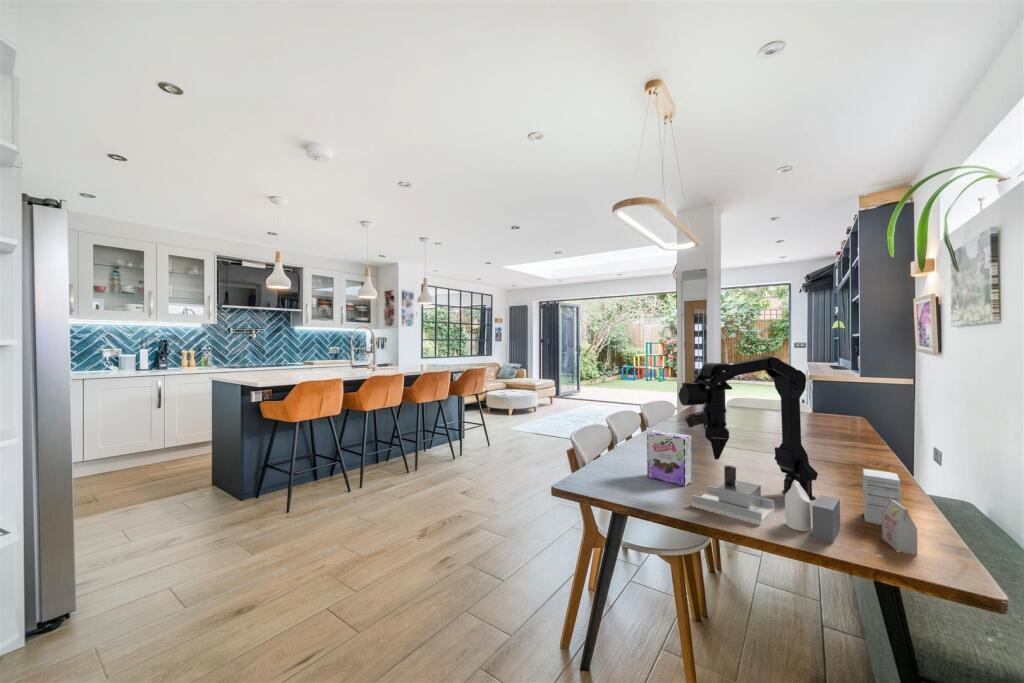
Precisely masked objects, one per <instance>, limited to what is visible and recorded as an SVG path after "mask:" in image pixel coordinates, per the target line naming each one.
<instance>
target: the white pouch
mask: <svg viewBox="0 0 1024 683" xmlns="http://www.w3.org/2000/svg"><path fill="white" fill-rule="evenodd" d="M811 511H812V508H811V499H809V497H808V495H807V493H806V492H805V491H804V489H803V488H802V487H801V485H800V484H799V482H798V481H796V480H794V481H793V482H792V485H791V488H790V489H789V491H788V492H787V493H786V494H785V495H784V513H785V514H784V515H785V525H786V526H787V527H788V528H790V529H792V530H795V531H800V532H809V531H811V530H812V512H811Z"/></svg>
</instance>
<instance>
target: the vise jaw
mask: <svg viewBox="0 0 1024 683" xmlns="http://www.w3.org/2000/svg"><path fill="white" fill-rule="evenodd" d="M723 469H724V472H723V473H724V474H723V476H724V477H723V478H724V483H723V484H721V485H719V486H717V487H718V499H719V501H720V502H724V503H727V504H731V505H735V506H739V507H743V508H747V509H751V510H756V509H757V508H758V507H759V506H760V505H761V498H762V494H761V493H762V492H761V491H762V490H761V489H762V486H761V485H759V484H755V483H751V482H750V483H749V482H745V481H741V480H737V467H735V466H733V465H724V468H723Z"/></svg>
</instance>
